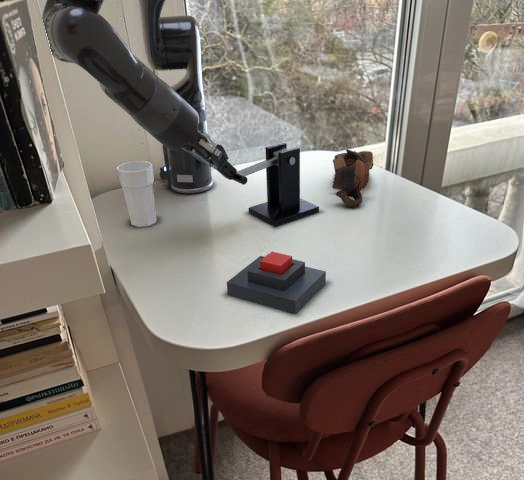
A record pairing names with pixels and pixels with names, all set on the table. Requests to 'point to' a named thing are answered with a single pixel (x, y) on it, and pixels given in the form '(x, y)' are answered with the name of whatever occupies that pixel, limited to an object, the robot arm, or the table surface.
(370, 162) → the brown curved piece
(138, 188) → the cup
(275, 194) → the bracket
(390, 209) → the table surface
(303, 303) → the control block
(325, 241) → the table surface
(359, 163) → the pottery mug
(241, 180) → the lever
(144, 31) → the robot arm
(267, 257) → the stop button
